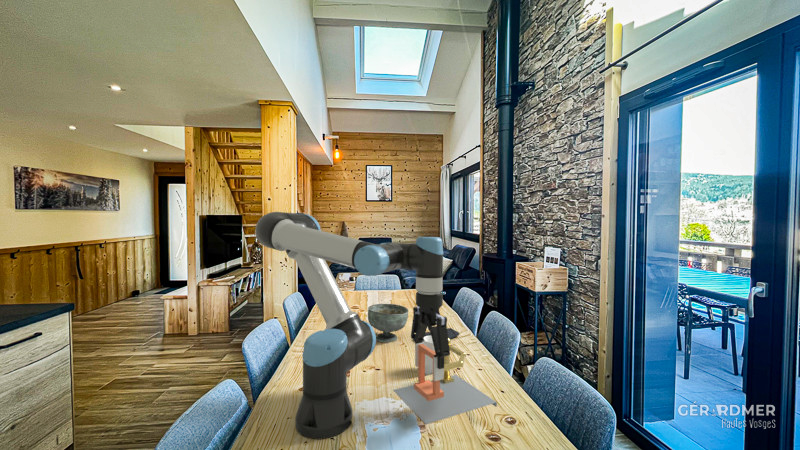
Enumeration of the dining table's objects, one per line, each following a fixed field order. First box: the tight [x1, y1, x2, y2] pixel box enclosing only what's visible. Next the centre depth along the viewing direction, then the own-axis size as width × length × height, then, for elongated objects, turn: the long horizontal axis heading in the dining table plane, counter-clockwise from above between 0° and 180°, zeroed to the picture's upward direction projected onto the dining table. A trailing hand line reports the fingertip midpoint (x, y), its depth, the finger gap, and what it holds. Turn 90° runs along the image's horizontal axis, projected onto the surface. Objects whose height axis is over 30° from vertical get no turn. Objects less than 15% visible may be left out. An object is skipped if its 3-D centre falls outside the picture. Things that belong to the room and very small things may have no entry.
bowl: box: [367, 303, 409, 344], centre depth 154 cm, size 20×19×15 cm
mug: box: [423, 335, 435, 376], centre depth 119 cm, size 12×8×12 cm
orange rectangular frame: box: [413, 344, 444, 401], centre depth 90 cm, size 5×9×12 cm, turn 28°
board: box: [393, 374, 498, 425], centre depth 100 cm, size 25×20×1 cm
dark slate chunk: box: [421, 327, 460, 343], centre depth 156 cm, size 15×22×5 cm
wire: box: [441, 338, 467, 384], centre depth 102 cm, size 15×17×14 cm
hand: (428, 372), depth 90 cm, fingers closed on orange rectangular frame, 9 cm apart
